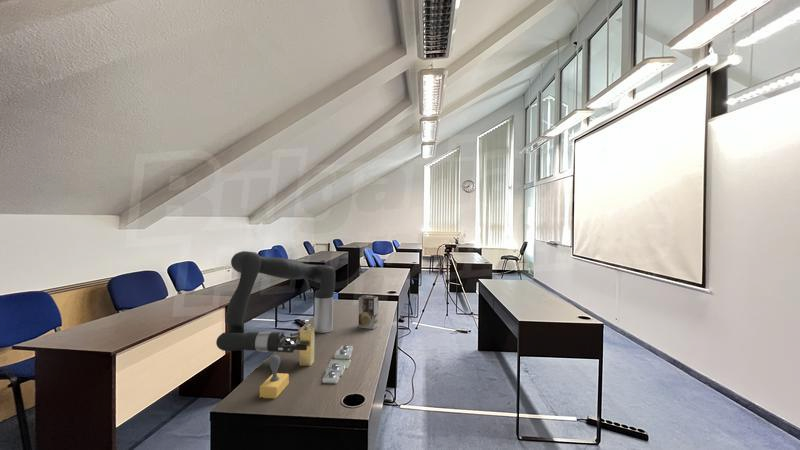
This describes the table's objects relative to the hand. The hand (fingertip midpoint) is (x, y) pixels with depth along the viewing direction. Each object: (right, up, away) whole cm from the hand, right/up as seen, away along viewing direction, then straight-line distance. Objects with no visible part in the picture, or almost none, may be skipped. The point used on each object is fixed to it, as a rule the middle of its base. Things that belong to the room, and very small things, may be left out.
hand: (310, 343), depth 138 cm
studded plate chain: (+12, -8, 0) cm, 14 cm away
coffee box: (+19, -8, +47) cm, 51 cm away
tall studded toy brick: (-1, -8, 0) cm, 8 cm away
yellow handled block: (-6, -9, -22) cm, 24 cm away
